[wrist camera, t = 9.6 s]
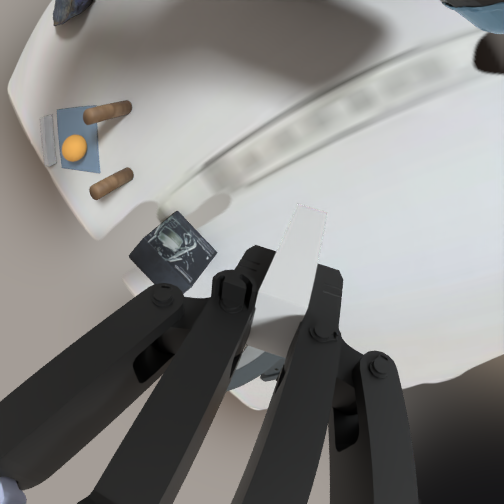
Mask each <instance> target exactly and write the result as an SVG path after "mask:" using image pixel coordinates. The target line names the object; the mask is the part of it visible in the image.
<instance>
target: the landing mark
mask: <svg viewBox="0 0 504 504" xmlns="http://www.w3.org/2000/svg"><path fill="white" fill-rule="evenodd" d="M93 107H96V105H95V106H84V107H75V108H66V109H59V110H57V122H58V136H59V147H60V156H61V164H62V168H67V169H74V170H81V171H88V172H94V173H100V165H99V153H98V139H97V123H94V124H91V125H86V124H85V123H84V121H83V113H84V111H85V110H86V109H89V108H93ZM71 135H80V136H82V137H83V138H84V139H85V140H86V143H87V150H86V153H85V155H84V156H83V157H82V158H81V159H80V160H78V161H74V162H71V161H68V160H66V159H65V158H64V156H63V154H62V145H63V143H64V141H65V140H66V139H67V138H68V137H69V136H71Z"/></svg>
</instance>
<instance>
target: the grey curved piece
mask: <svg viewBox="0 0 504 504" xmlns="http://www.w3.org/2000/svg"><path fill="white" fill-rule="evenodd" d="M285 359H286V358H284V357H281V356H277V355H274V354H271V353H268V352H265V351H262V350H259V349H256V348H254V347H251V346H248V345H247V347H246V348H245V349H244V351H243V352H242V356H241V359H240V361H239V363H238V366H237V368H236V370H235V372H234V375H233V377H232V379H231V382H230V384H229V386H228V388H227V391H229V390H232V389H235V388H237V387H240V386H242V385H244V384H246V383H248V382H250V381H252V380H253V379H255V378H257V377H258V376H260V375H261V376H260V378H261V379H262V380H263V381H265V382H266V381H271V380H275V379H277V377H278V375H279V373H280V371H281V369H282V367H283V365H284V362H285Z"/></svg>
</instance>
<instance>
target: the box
mask: <svg viewBox="0 0 504 504" xmlns="http://www.w3.org/2000/svg"><path fill="white" fill-rule="evenodd" d="M216 254H217V252H216V251H215V250H214V249H213V247H212V246H211V245H210V244H209V243H208V242H207V241H206V240H205V239H204V238H203V237H202V236H201V235H200V234H199V233H198V232H197V231H196V230H195V229H194V227H193V226H192V225H191V224H190V223H189V222H188V221H187V220H186V219H185V218H184V217H183V216H182V215H181V214H180V213H179V212H178V211H176V212H175V213H173V214H172V215H171V216H170V217H169V218H167V219H166V220H165V221H164V222H162V223H161V224H160V225H159V226H158V227H156V228H155V229H154V230H153V231H152V232H150V233H149V234H148V235H147V236H145V237H144V238H143V239H142V240H141V241H140V243H139V244H138V245H137V246H136V247H135V248H134V250H133V251H132V252H131V253H130V255H129V258H130V259H131V260H132V261H133V262H134V263H135V264H136V265H137V266H138V267H139V268H140V269H141V271H142V272H143V273H144V274H145V275H146V276H147V277H148V278H149V279H150V280H151V281H152V282H153V283H154V284H159V283H168V284H172V285H175V286H177V287H178V288H179V289H180V290H181V291H182V292H183V294H184V293H185V292H186V291H188V290H189V289H190V288H191V287H192V286H193V284H194V283H195V282H196V280H197V279H198V278H199V276H200V275H201V274H202V272H203V271H204V270H205V268H206V267H207V266H208V264H209V263H210V262H211V260H212V259H213V258H214V256H215V255H216Z"/></svg>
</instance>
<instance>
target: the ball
mask: <svg viewBox="0 0 504 504" xmlns="http://www.w3.org/2000/svg"><path fill="white" fill-rule="evenodd" d="M86 150H87V143H86V140H85V139H84V138H83V137H82V136H80V135H71V136H69V137H68V138H67V139H66V140H65V141H64V143H63V145H62V154H63V156H64V158H65V159H66V160H68V161H71V162H74V161H78V160H80V159H81V158H82V157H83V156H84V155H85V153H86Z"/></svg>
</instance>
